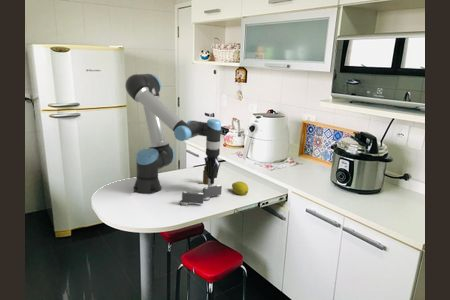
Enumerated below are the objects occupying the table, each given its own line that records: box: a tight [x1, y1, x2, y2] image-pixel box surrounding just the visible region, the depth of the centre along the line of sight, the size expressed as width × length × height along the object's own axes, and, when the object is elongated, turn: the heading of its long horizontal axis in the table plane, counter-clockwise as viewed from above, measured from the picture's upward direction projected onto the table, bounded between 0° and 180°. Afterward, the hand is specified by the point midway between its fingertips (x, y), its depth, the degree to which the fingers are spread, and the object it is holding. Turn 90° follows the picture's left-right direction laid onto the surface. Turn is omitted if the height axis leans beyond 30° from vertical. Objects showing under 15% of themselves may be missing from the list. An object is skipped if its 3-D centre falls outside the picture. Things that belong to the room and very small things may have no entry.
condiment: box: [197, 165, 208, 186], centre depth 195 cm, size 7×8×12 cm
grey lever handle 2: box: [202, 184, 223, 202], centre depth 175 cm, size 12×5×6 cm, turn 124°
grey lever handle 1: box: [179, 190, 204, 207], centre depth 165 cm, size 12×5×6 cm, turn 87°
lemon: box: [231, 180, 249, 196], centre depth 184 cm, size 11×8×8 cm
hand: (210, 188), depth 181 cm, fingers closed
